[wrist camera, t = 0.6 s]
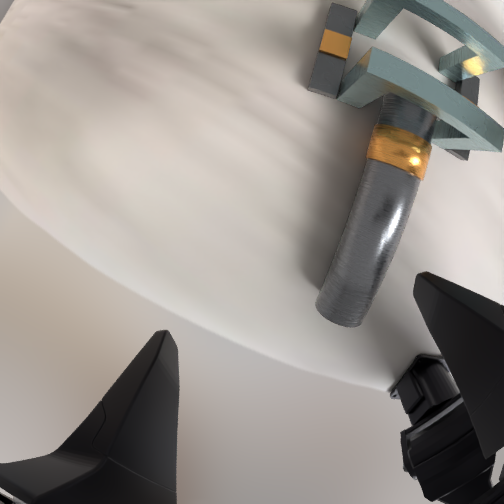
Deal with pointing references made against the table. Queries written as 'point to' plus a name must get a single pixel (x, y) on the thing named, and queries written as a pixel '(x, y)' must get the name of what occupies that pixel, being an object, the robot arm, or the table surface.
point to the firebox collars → (414, 71)
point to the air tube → (378, 210)
